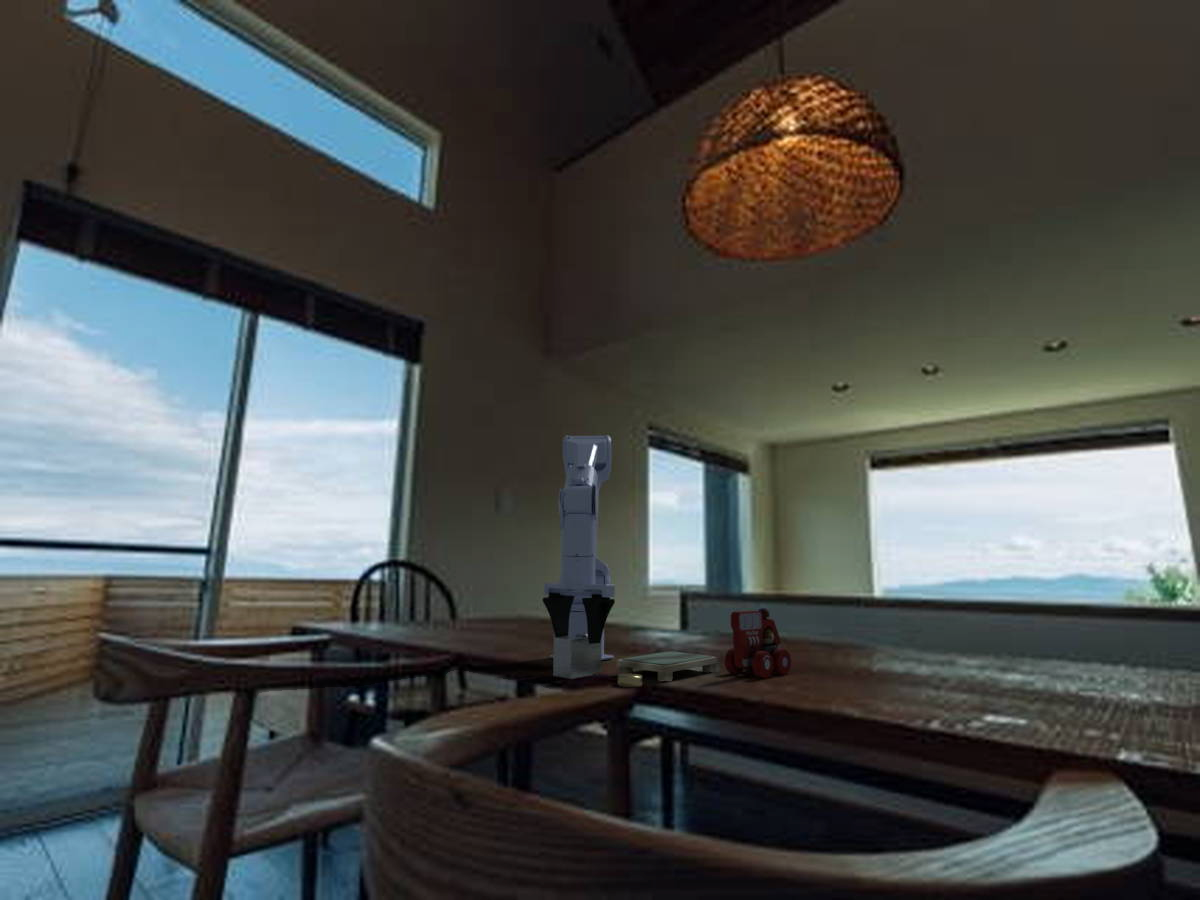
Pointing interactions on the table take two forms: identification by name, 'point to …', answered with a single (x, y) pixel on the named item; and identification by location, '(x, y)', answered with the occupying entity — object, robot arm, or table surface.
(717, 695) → the table surface
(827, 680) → the table surface
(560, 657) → the housing
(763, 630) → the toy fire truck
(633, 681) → the brass nut
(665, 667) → the stand
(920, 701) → the table surface
